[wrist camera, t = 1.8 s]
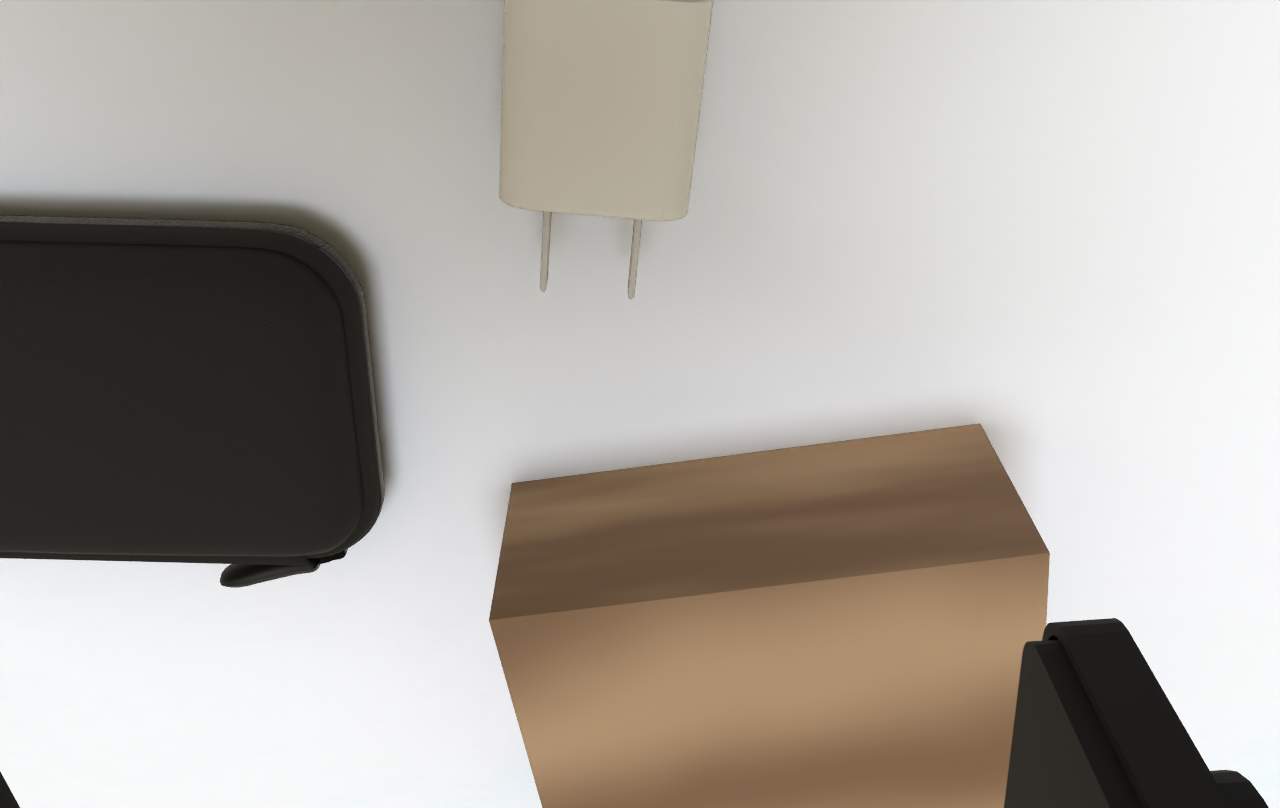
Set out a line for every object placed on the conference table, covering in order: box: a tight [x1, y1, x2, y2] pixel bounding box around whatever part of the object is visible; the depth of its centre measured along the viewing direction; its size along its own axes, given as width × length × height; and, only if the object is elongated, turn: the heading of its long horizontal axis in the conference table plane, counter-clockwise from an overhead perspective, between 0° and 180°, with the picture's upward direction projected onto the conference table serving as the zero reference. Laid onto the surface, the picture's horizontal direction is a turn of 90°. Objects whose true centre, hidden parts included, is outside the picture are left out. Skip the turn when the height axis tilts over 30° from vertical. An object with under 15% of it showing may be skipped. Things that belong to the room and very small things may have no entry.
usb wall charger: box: [499, 0, 713, 299], centre depth 24 cm, size 4×7×4 cm, turn 175°
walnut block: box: [489, 424, 1050, 808], centre depth 31 cm, size 13×13×6 cm
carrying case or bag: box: [0, 215, 384, 587], centre depth 28 cm, size 11×3×15 cm
